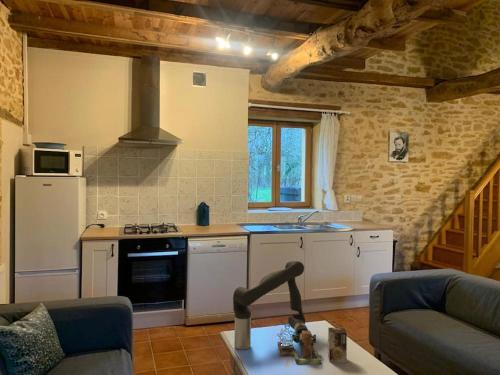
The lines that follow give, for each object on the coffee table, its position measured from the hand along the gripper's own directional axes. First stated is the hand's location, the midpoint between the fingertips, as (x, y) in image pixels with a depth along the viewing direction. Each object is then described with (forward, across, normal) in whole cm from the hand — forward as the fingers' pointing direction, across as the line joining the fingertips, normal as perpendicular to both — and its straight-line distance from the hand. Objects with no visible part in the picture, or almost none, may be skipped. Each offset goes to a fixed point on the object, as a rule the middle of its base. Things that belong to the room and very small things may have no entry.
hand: (307, 344), depth 195 cm
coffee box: (0, +16, +9) cm, 18 cm away
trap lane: (-8, -4, +8) cm, 12 cm away
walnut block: (-3, 0, +8) cm, 8 cm away
